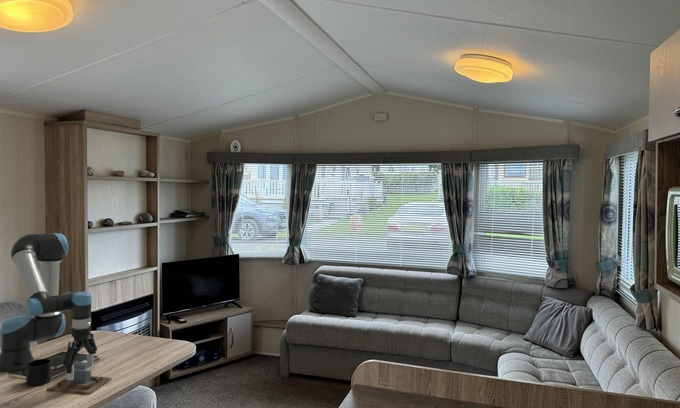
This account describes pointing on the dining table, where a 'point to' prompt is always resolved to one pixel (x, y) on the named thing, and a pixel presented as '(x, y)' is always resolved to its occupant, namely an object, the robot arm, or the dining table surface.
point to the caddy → (79, 385)
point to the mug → (38, 372)
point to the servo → (82, 372)
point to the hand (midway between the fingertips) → (80, 373)
